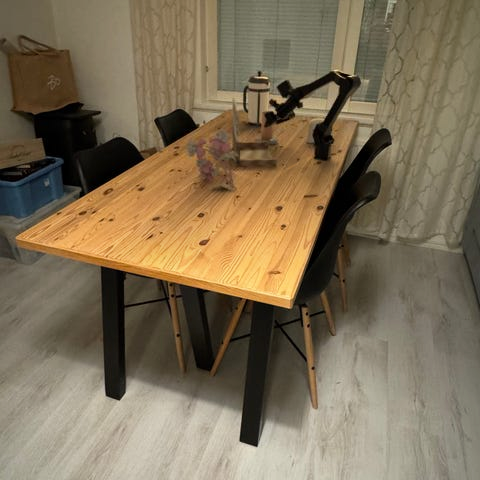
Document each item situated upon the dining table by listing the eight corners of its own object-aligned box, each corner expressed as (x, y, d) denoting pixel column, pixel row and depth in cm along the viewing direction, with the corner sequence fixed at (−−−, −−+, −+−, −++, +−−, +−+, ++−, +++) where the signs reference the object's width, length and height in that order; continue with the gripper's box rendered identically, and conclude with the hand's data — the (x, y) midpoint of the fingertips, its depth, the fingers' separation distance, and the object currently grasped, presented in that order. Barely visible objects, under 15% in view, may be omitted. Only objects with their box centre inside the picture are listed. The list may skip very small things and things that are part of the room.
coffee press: (270, 120, 249) (273, 69, 234) (269, 127, 236) (272, 72, 220) (242, 119, 251) (243, 68, 236) (240, 126, 237) (241, 72, 222)
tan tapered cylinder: (273, 140, 206) (275, 113, 200) (262, 140, 205) (263, 113, 199) (270, 136, 211) (272, 110, 205) (259, 137, 211) (260, 111, 204)
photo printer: (324, 140, 213) (327, 117, 207) (327, 143, 210) (330, 119, 203) (305, 141, 212) (308, 117, 206) (308, 143, 208) (310, 119, 202)
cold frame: (267, 149, 199) (270, 97, 187) (276, 168, 176) (279, 110, 163) (232, 149, 198) (232, 97, 185) (236, 169, 174) (236, 110, 162)
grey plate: (281, 141, 211) (281, 137, 210) (271, 147, 202) (271, 143, 201) (261, 137, 217) (262, 134, 216) (250, 143, 208) (250, 139, 207)
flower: (251, 171, 168) (225, 115, 158) (255, 186, 148) (225, 124, 138) (209, 191, 171) (180, 138, 161) (206, 209, 151) (174, 149, 141)
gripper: (292, 89, 198) (273, 109, 210) (267, 94, 186) (250, 115, 198) (303, 108, 197) (284, 127, 209) (280, 114, 185) (261, 134, 197)
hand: (270, 125), depth 204 cm, fingers open, 9 cm apart
